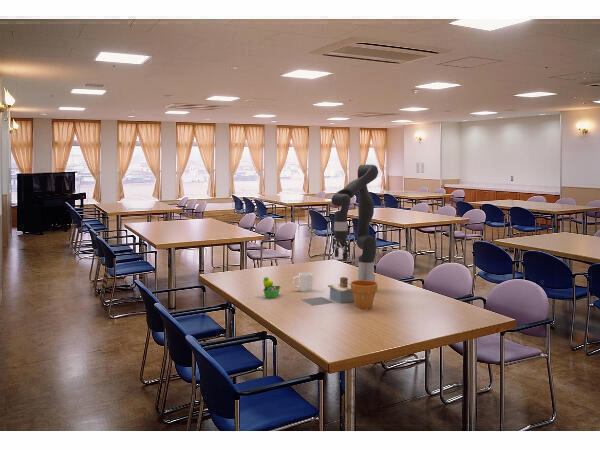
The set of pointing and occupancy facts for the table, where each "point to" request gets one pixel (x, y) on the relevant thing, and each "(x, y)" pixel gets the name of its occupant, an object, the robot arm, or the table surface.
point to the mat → (317, 301)
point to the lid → (341, 285)
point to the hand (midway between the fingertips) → (340, 258)
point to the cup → (304, 282)
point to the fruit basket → (270, 288)
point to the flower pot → (363, 293)
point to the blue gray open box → (341, 296)
